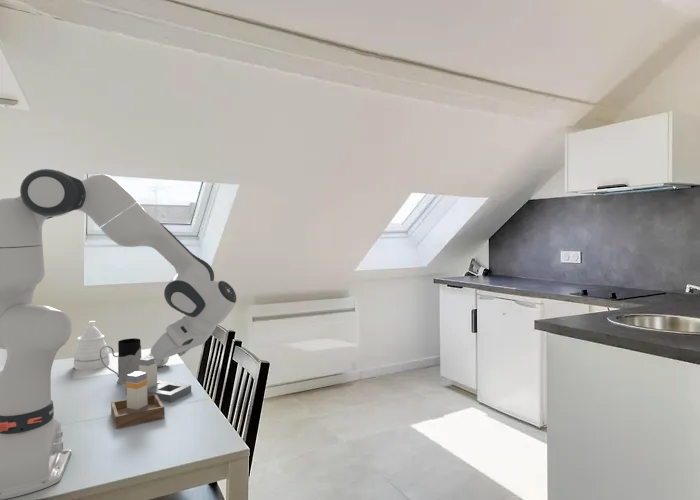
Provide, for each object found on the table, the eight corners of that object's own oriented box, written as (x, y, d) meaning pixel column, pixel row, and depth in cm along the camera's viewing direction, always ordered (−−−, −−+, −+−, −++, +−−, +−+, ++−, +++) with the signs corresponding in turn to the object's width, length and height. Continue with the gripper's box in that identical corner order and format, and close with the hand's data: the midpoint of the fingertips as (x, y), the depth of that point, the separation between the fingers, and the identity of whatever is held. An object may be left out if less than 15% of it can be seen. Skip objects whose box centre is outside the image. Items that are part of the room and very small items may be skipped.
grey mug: (142, 382, 167) (141, 342, 166) (98, 387, 161) (97, 346, 161) (143, 375, 175) (142, 337, 174) (102, 379, 169) (101, 340, 169)
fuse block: (191, 392, 157) (191, 385, 157) (170, 402, 147) (170, 395, 147) (148, 385, 163) (148, 378, 163) (125, 395, 154) (125, 388, 154)
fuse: (157, 390, 158) (156, 357, 158) (148, 394, 154) (148, 360, 154) (148, 389, 159) (147, 356, 159) (139, 393, 156) (138, 359, 155)
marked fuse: (147, 411, 138) (147, 372, 138) (137, 416, 134) (136, 376, 134) (137, 409, 140) (136, 371, 139) (126, 414, 136) (125, 375, 135)
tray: (164, 418, 135) (164, 406, 135) (116, 428, 128) (115, 416, 128) (156, 404, 146) (156, 393, 146) (111, 413, 139) (110, 402, 139)
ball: (154, 372, 187) (146, 355, 189) (173, 363, 190) (165, 346, 192) (151, 368, 180) (143, 351, 182) (171, 359, 183) (163, 341, 186)
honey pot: (78, 362, 192) (77, 320, 191) (112, 359, 196) (111, 318, 195) (70, 371, 180) (68, 326, 179) (106, 368, 184) (104, 324, 183)
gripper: (211, 312, 139) (186, 341, 143) (163, 326, 119) (135, 359, 123) (224, 328, 137) (198, 356, 141) (177, 344, 118) (148, 377, 122)
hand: (168, 358), depth 132 cm, fingers open, 8 cm apart
